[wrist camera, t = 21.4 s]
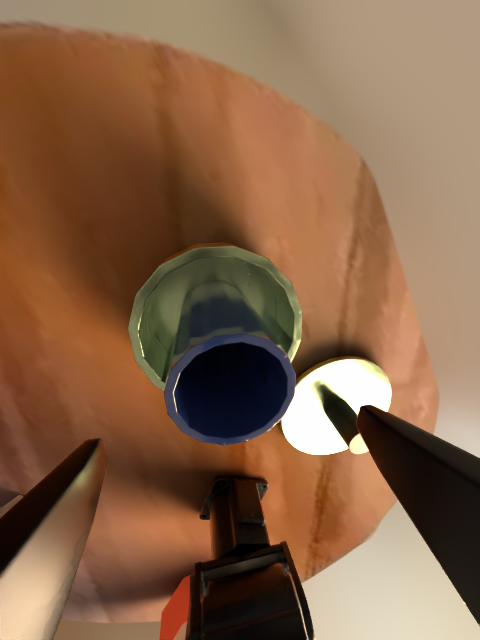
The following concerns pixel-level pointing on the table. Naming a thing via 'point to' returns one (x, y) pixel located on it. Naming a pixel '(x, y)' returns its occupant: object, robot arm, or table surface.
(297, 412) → the lid
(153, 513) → the table surface
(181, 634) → the french fries container
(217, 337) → the cup
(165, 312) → the pot
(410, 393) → the table surface
